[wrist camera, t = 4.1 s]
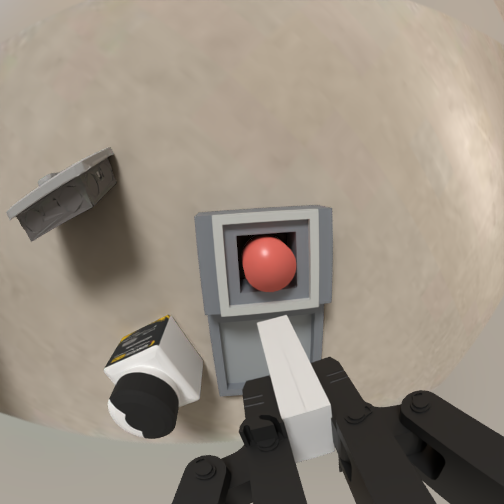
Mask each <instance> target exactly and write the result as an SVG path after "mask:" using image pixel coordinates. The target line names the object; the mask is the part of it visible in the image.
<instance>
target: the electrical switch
mask: <svg viewBox="0 0 504 504" xmlns="http://www.w3.org/2000/svg"><path fill="white" fill-rule="evenodd" d="M113 154H114V153H113V151H112V149H111V147H108V148H105V149H103V150H101V151H98V152H96V153H94V154H92V155H90V156H88V157H86V158H84V159H82V160H80V161H78V162H77V163H75V164H73V165H71V166H69V167H68V168H66V169H64V170H63V171H61V172H59V173H51V174H48V175H46V176H44V177H43V178H41V179H40V180H39V181H38V184H39V187H37V188H36V189H35V190H33V191H32V192H30V193H29V194H27V195H26V196H25V197H23V198H22V199H21V200H19V201H18V202H17V203H15V204H14V205H13V206H12V207H11V208H10V209H9V210H8V211H7V212H6V213H7V215H8V217H9V220H11V219H13V218H14V217H15V216H16V217H17V219H18V220H19V222H20V224H21V226H22V227H23V228H24V230H25V231H26V233H27V235H28V237H29V238H30V240H31V242H32V241H34V240H35V239H37V238H38V237H40V236H42V235H43V234H45V233H47V232H48V231H50V230H52V229H54V228H55V227H57V226H59V225H61V224H62V223H64V222H66V221H68V220H70V219H71V218H73V217H75V216H77V215H79V214H81V213H82V212H84V211H86V210H88V209H90V208H92V207H93V205H94V206H95V205H96V203H97V202H98V201H99V200H100V199H101V198H102V197H103V196H104V195H105V194H106V193H107V192H108V191H109V190H110V189H111V188H112V187H113V186H114V185H115V184H116V183H117V181H116V179H115V177H114V175H113V172H112V168H111V165H110V163H109V160H108V157H109V156H111V155H113ZM88 196H89V197H88ZM89 198H90V199H89ZM90 200H91V201H90ZM91 202H92V203H93V205H92V203H91ZM80 207H81V208H80Z"/></svg>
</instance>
